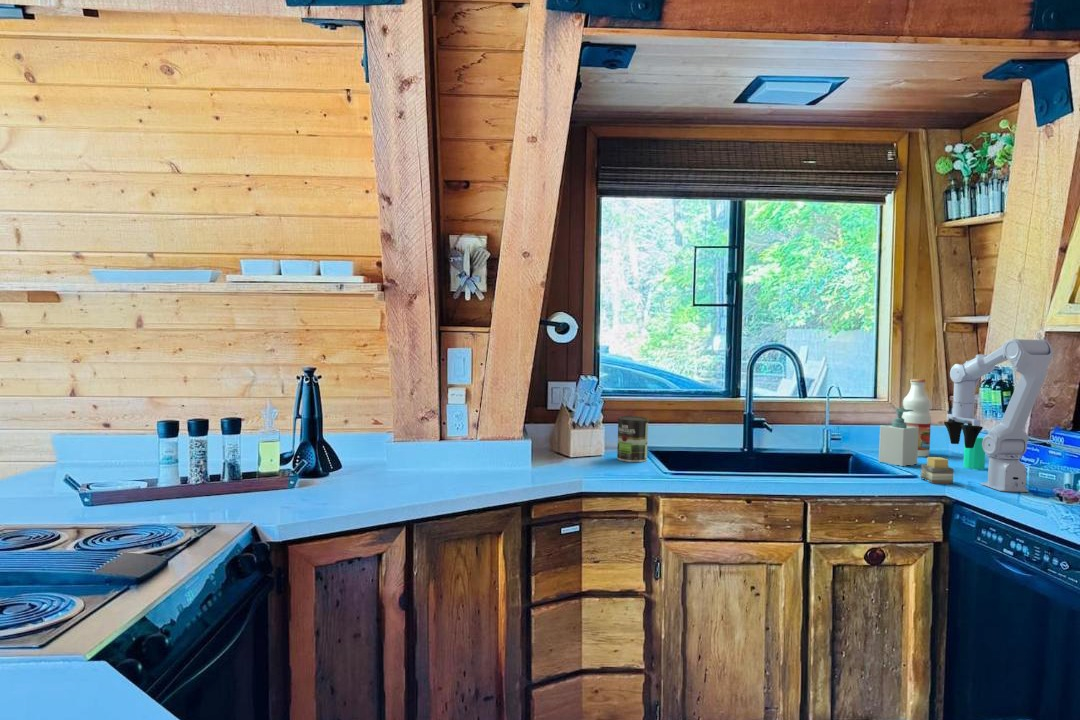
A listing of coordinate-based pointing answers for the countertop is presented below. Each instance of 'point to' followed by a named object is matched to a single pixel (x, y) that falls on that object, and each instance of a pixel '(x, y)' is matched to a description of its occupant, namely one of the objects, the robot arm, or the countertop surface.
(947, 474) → the tower base
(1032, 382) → the robot arm
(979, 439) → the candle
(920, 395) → the fruit juice
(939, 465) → the ochre block
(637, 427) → the coffee can
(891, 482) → the countertop surface
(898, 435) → the soap bottle
